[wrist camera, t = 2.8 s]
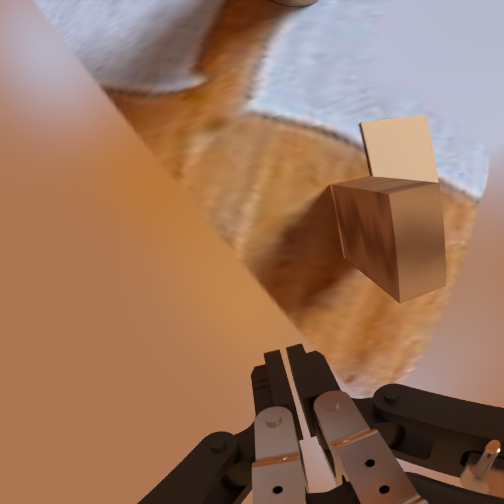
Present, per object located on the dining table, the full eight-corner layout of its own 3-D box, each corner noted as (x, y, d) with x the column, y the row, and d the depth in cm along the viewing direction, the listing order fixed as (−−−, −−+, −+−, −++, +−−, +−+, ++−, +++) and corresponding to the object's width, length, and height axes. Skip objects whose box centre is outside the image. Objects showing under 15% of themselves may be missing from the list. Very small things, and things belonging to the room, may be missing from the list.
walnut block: (330, 184, 34) (388, 194, 21) (368, 176, 34) (438, 182, 21) (343, 257, 37) (400, 303, 23) (379, 247, 37) (445, 285, 23)
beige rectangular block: (360, 122, 33) (361, 122, 32) (424, 115, 33) (425, 115, 32) (385, 265, 37) (386, 265, 37) (443, 245, 37) (444, 246, 37)
